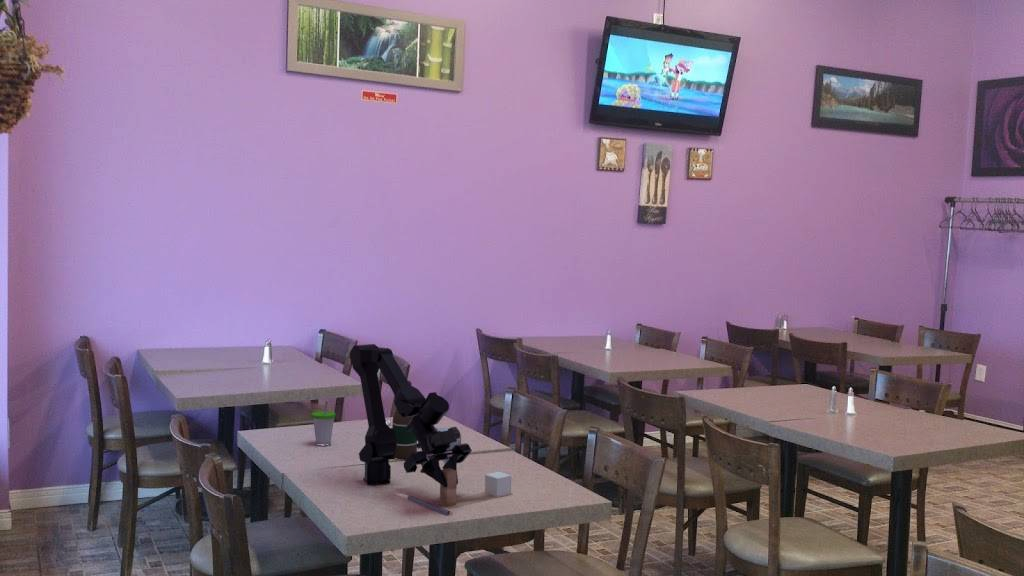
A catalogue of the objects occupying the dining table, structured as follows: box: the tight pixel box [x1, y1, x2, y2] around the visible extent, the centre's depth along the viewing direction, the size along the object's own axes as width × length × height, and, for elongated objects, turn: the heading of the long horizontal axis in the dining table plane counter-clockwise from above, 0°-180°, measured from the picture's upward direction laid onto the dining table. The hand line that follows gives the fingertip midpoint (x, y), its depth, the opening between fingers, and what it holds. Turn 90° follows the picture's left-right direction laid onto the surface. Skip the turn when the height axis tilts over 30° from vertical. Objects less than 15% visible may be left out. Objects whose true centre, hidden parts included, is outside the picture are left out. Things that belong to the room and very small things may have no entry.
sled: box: [434, 468, 513, 513], centre depth 253 cm, size 6×22×10 cm, turn 132°
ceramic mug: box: [435, 427, 462, 451], centre depth 311 cm, size 11×8×8 cm
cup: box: [311, 401, 337, 445], centre depth 313 cm, size 8×8×15 cm
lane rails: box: [406, 495, 451, 516], centre depth 256 cm, size 17×25×1 cm
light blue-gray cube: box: [484, 471, 512, 498], centre depth 258 cm, size 5×5×5 cm
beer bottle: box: [392, 380, 418, 461], centre depth 299 cm, size 8×8×24 cm
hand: (451, 485), depth 246 cm, fingers closed on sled, 3 cm apart
